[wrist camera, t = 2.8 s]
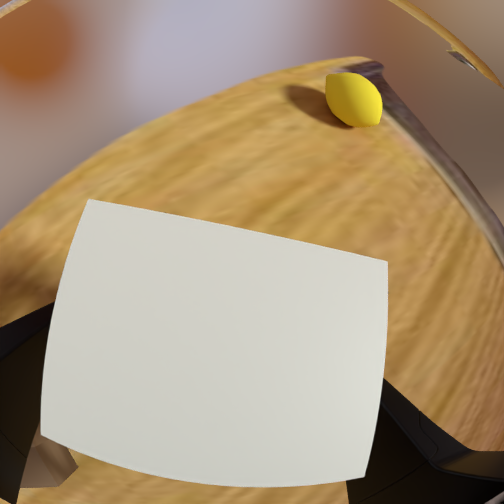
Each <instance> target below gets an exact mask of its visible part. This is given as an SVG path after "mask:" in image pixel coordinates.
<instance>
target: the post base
mask: <svg viewBox="0 0 504 504" xmlns="http://www.w3.org/2000/svg"><path fill="white" fill-rule="evenodd" d="M77 468H78V466H77V464H76V463H75V461H74V459H73V458H72V456H71V454H70V452H69V451H68V449H67V447H66V446H63V445H61V444H59V443H57V442H55V441H53V440H50V439H48V438H46V437H44V436H42V435H41V420H40V422H39V425H38V428H37V431H36V433H35V436H34V439H33V442H32V445H31V448H30V452H29V455H28V458H27V462H26V466H25V469H24V473H23V477H22V481H21V485H20V488H41V487H57V486H59V485H61V484H62V483H63V482H64V481H65V480H66V479H67V478H68V477H69V476H70V475H71V474H72V473H73V472H74V471H75V470H76V469H77Z"/></svg>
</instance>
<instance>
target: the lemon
mask: <svg viewBox="0 0 504 504" xmlns="http://www.w3.org/2000/svg"><path fill="white" fill-rule="evenodd" d="M325 97H326V100H327V103H328V105H329V108H330V110H331V112H332V113H333V114H334V115H335V116H336V117H338V118H339V119H340V120H342V121H343V122H344V123H346V124H347V125H350V126H354V127H370V126H375V125H378V123H379V121H380V118H381V114H382V100H381V95H380V94H379V92H378V90H377V89H376V87H375V86H374V85H373V84H372V83H371V82H370V81H369V80H367V79H366V78H364V77H362V76H361V75H359V74H354V73H337V74H329V75H327V76H326V86H325Z"/></svg>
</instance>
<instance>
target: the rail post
mask: <svg viewBox="0 0 504 504" xmlns="http://www.w3.org/2000/svg"><path fill="white" fill-rule="evenodd" d="M387 317H388V263H387V261H383V260H379V259H375V258H371V257H367V256H362V255H358V254H354V253H350V252H345V251H341V250H337V249H332V248H328V247H324V246H319V245H315V244H310V243H306V242H301V241H297V240H292V239H288V238H283V237H279V236H274V235H270V234H265V233H260V232H256V231H251V230H246V229H241V228H237V227H232V226H227V225H222V224H217V223H212V222H208V221H203V220H198V219H193V218H188V217H183V216H178V215H172V214H167V213H162V212H157V211H152V210H146V209H141V208H136V207H130V206H125V205H120V204H114V203H109V202H103V201H98V200H92V199H88V201H87V204H86V206H85V209H84V211H83V214H82V216H81V219H80V222H79V224H78V227H77V230H76V233H75V235H74V238H73V241H72V244H71V247H70V250H69V253H68V256H67V260H66V263H65V266H64V270H63V273H62V277H61V281H60V284H59V288H58V292H57V296H56V301H55V305H54V309H53V314H52V319H51V324H50V330H49V335H48V341H47V348H46V355H45V363H44V372H43V382H42V396H41V435H42V436H44V437H46V438H48V439H50V440H53V441H55V442H57V443H59V444H61V445H63V446H66V447H68V448H70V449H73V450H75V451H78V452H80V453H83V454H85V455H88V456H91V457H93V458H96V459H99V460H102V461H105V462H108V463H111V464H114V465H117V466H121V467H124V468H127V469H131V470H135V471H139V472H143V473H147V474H151V475H155V476H160V477H165V478H170V479H176V480H182V481H188V482H195V483H203V484H212V485H222V486H238V487H289V486H304V485H315V484H324V483H332V482H339V481H345V480H351V479H356V478H361V477H364V476H365V472H366V468H367V464H368V460H369V456H370V452H371V447H372V443H373V438H374V433H375V428H376V422H377V417H378V411H379V404H380V397H381V390H382V382H383V373H384V364H385V352H386V338H387Z"/></svg>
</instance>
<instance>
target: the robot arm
mask: <svg viewBox="0 0 504 504" xmlns="http://www.w3.org/2000/svg"><path fill="white" fill-rule="evenodd" d="M54 305H55V302H53V303H50V304H48V305H46V306H44V307H42V308H40V309H38V310H36V311H33V312H31V313H29V314H27V315H25V316H23V317H21V318H19V319H17V320H15V321H13V322H11V323H9V324H7V325H5V326H3V327H1V328H0V498H2V499H3V500H5V501H7V502H9V503H11V504H16V503H17V498H18V494H19V489H20V485H21V481H22V477H23V473H24V469H25V466H26V462H27V458H28V455H29V452H30V448H31V445H32V442H33V439H34V436H35V433H36V431H37V428H38V425H39V422H40V420H41V396H42V382H43V372H44V363H45V355H46V348H47V341H48V335H49V330H50V324H51V319H52V314H53V309H54ZM346 485H347V492H348V500H349V504H504V451H475V450H471V449H469V448H467V447H465V446H464V445H463V444H461V443H460V442H458V441H457V440H456V439H454V438H453V437H452V436H450V435H449V434H448V433H446V432H445V431H444V430H442V429H441V428H440V427H439V426H437V425H436V424H435V423H434V422H432V421H431V420H430V419H429V418H428V417H427V416H425V415H424V414H423V413H422V412H421V411H419V410H418V408H416V407H415V406H414V405H413V404H412V403H411V402H410V401H409V400H408V399H406V398H405V397H404V396H403V395H402V394H401V393H400V392H399V391H398V390H396V389H395V388H394V387H393V386H392V385H391V384H390V383H389V382H388V381H386V380H385V379H384V378H383V382H382V390H381V397H380V404H379V411H378V417H377V422H376V428H375V433H374V438H373V443H372V447H371V452H370V456H369V460H368V464H367V468H366V472H365V476H364V477H361V478H356V479H351V480H346Z"/></svg>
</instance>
